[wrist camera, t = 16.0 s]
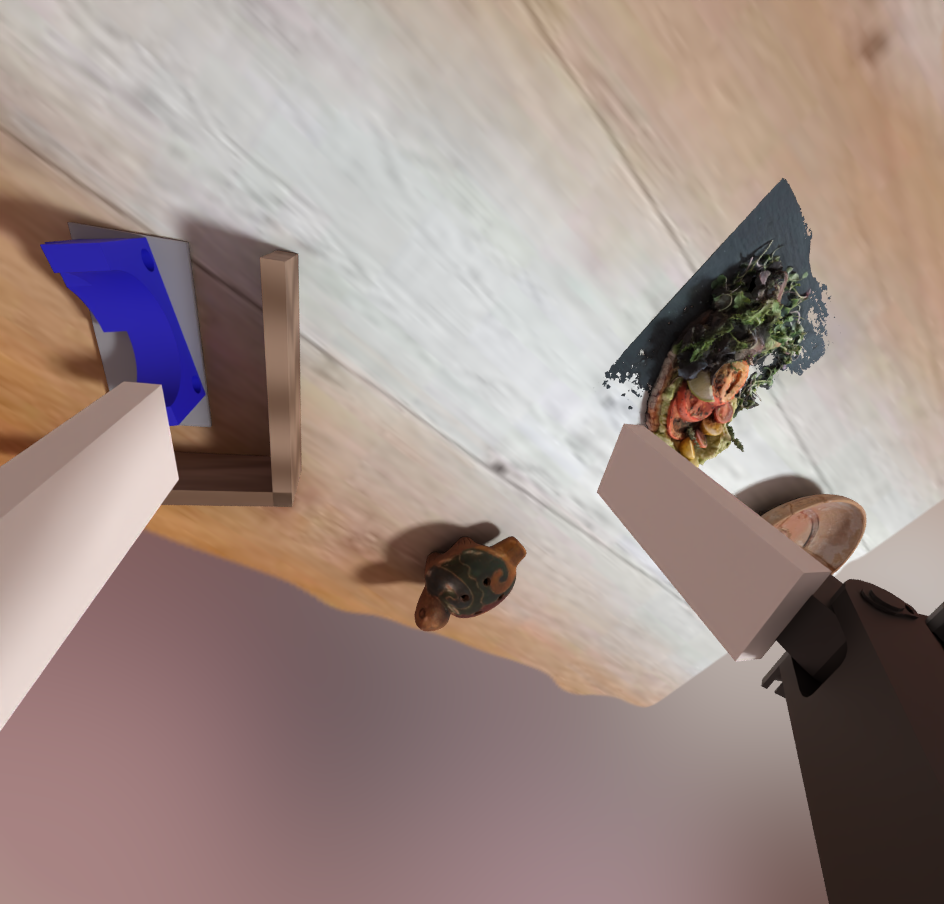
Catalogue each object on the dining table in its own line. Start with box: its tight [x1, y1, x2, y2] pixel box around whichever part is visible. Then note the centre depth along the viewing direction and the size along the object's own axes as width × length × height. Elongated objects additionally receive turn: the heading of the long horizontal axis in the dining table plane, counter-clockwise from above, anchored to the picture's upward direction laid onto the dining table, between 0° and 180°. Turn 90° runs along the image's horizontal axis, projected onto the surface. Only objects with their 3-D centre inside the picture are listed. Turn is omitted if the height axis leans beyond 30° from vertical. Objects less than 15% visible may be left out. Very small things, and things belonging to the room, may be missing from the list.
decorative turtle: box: [415, 536, 526, 631], centre depth 49 cm, size 10×15×8 cm, turn 121°
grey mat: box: [68, 222, 212, 427], centre depth 32 cm, size 15×7×1 cm, turn 169°
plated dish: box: [602, 178, 835, 468], centre depth 44 cm, size 35×28×7 cm
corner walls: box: [161, 250, 302, 507], centre depth 31 cm, size 20×19×6 cm
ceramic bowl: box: [761, 494, 866, 575], centre depth 63 cm, size 23×24×5 cm
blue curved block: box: [40, 237, 206, 426], centre depth 29 cm, size 12×4×6 cm, turn 1°
